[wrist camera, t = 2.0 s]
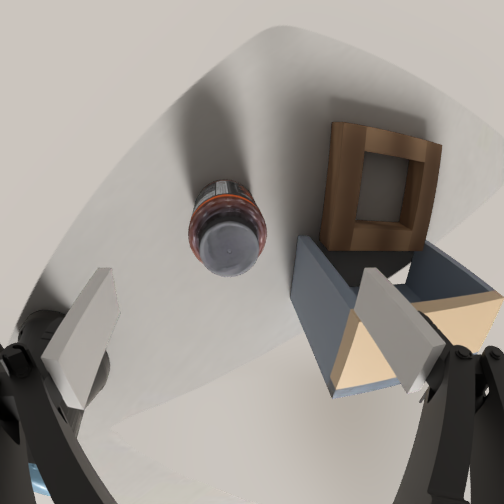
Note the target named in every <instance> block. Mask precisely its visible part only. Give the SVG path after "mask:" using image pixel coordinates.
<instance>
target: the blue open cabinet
mask: <svg viewBox="0 0 504 504" xmlns="http://www.w3.org/2000/svg"><path fill="white" fill-rule="evenodd" d="M394 286H395V287H396V288H397V290H398V291H399V292H400V293H401V294H402V295H403V296H404V297H405V298H406V299H407V300H408V301H409V302H410V303H411V304H412V306H413V307H414V308H415V309H416V310H417V311H421V312H422V313H424V314H425V315H427V316H428V317H429V318H430V319H431V320H432V322H433V324H435V325H436V326H437V327H438V329H440V330H441V332H442V333H443V334H444V335H445V336H446V337H447V338H448V340H449V341H450V342H451V343H452V344H453V345H462V346H464V347H467V348H468V349H469V350H470V351H471V352H472V353H473V354H475V355H477V353H478V351H479V349H480V347H481V346H482V344H483V342H484V340H485V338H486V336H487V334H488V332H489V330H490V328H491V326H492V324H493V322H494V320H495V318H496V316H497V313H498V311H499V309H500V307H501V305H502V302H503V300H504V297H503V296H502V295H501V294H499V293H498V292H497V291H496V290H494V289H493V288H492V287H490V286H489V285H488V284H487V283H485V282H484V281H483V280H481V279H480V278H479V277H478V276H476V275H475V274H474V273H472V272H471V271H470V270H468V269H467V268H466V267H464V266H463V265H461V264H460V263H459V262H457V261H456V260H454V259H453V258H451V257H450V256H449V255H447V254H446V253H445V252H443V251H442V250H440V249H439V248H437V247H436V246H434V245H433V244H431V243H430V242H428V241H427V240H425V244H424V248H423V251H414V254H413V258H412V262H411V265H410V269H409V273H408V277H407V279H406V283H405V284H397V285H394ZM359 288H360V287H349V286H348V284H347V283H346V282H345V281H344V279H343V278H342V277H341V275H340V274H339V273H338V272H337V270H336V269H335V268H334V266H333V265H332V264H331V263H330V261H329V260H328V259H327V258H326V256H325V255H324V254H323V253H322V251H321V250H320V249H319V248H318V246H317V245H316V244H315V243H314V242H313V240H312V239H311V238H310V237H309V236H300V235H298V241H297V250H296V258H295V266H294V274H293V281H292V289H291V296H290V299H291V301H292V303H293V306H294V308H295V311H296V313H297V315H298V318H299V320H300V322H301V325H302V327H303V330H304V332H305V334H306V337H307V339H308V341H309V344H310V346H311V348H312V351H313V353H314V356H315V358H316V360H317V363H318V366H319V368H320V370H321V373H322V375H323V378H324V380H325V383H326V385H327V387H328V390H329V392H330V395H331V397H332V399H334V398H339V397H345V396H350V395H355V394H360V393H365V392H370V391H374V390H378V389H382V388H387V387H391V386H394V385H398V384H401V383H400V381H399V380H398V378H397V377H396V375H395V373H394V372H393V370H392V368H391V367H390V365H389V364H388V362H387V360H386V359H385V357H384V356H383V354H382V353H381V351H380V349H379V348H378V346H377V345H376V343H375V342H374V340H373V339H372V337H371V335H370V334H369V332H368V331H367V329H366V328H365V326H364V325H363V323H362V322H361V320H360V319H359V317H358V316H357V314H356V313H355V311H354V307H355V304H356V300H357V296H358V292H359Z"/></svg>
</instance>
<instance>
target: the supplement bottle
mask: <svg viewBox="0 0 504 504" xmlns="http://www.w3.org/2000/svg"><path fill="white" fill-rule="evenodd" d="M188 236H189V243H190V247H191V249H192V251H193V253H194V255H195V256H196V257H197V259H198V260H199V261H200V262H202V263H203V264H204V265H205V267H206V268H207V269H208V270H210V271H211V272H212V273H214V274H217V275H219V276H223V277H234V276H238V275H241V274H243V273H245V272H247V271H248V270H249V269H250V268H251V267H252V266H253V265H254V264H255V262H256V260H257V258H258V257H259V255H260V254H261V252H262V251H263V249H264V246H265V243H266V237H267V229H266V224H265V221H264V218H263V216H262V214H261V212H260V210H259V208H258V206H257V205H256V203H255V201H254V199H253V197H252V195H251V194H250V192H249V191H248V190H247V189H246V188H245V187H244V186H242V185H241V184H239V183H237V182H235V181H232V180H219V181H215V182H212V183H210V184H209V185H207V186H206V187H205V188H204V189H203V190H202V191H201V192H200V194H199V196H198V198H197V200H196V203H195V206H194V210H193V213H192V217H191V220H190V225H189V232H188Z"/></svg>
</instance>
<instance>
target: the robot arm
mask: <svg viewBox="0 0 504 504" xmlns="http://www.w3.org/2000/svg"><path fill="white" fill-rule="evenodd" d="M354 311H355V313H356V314H357V316H358V317H359V319H360V320H361V322H362V323H363V325H364V326H365V328H366V329H367V331H368V332H369V334H370V335H371V337H372V339H373V340H374V342H375V343H376V345H377V346H378V348H379V349H380V351H381V353H382V354H383V356H384V357H385V359H386V360H387V362H388V364H389V365H390V367H391V368H392V370H393V372H394V373H395V375H396V377H397V378H398V380H399V381H400V383H401V385H402V386H403V388H404V390H405V391H406V393H407V394H409V393H412V392H415V391H419V390H420V389H421V388H422V386H423V384H424V383H425V381H426V382H427V383H428V384H429V387H428V389H427V390H426V392H425V393H424V395H423V396H422V398H421V399H420V402H419V403H421V402H422V401H423V399H424V405H423V409H422V414H421V418H420V422H419V426H418V430H417V434H416V438H415V441H414V445H413V448H412V452H411V455H410V458H409V461H408V464H407V467H406V470H405V474H404V476H403V479H402V482H401V484H400V487H399V490H398V492H397V495H396V497H395V500H394V502H393V504H470V503H469V502H468V501H465V500H464V492H465V487H466V482H467V477H468V471H469V465H470V480H471V504H504V354H503V352H502V351H501V350H500V349H499V348H497V347H494V346H487V347H486V348H485V350H484V351H483V353H482V355H475V354H473V353H472V352H471V351H470V350H469V349H468V348H467V347H464V346H462V345H453V344H452V343H451V342H450V341H449V340H448V338H447V337H446V336H445V335H444V334H443V333H442V332H441V330H440V329H438V327H437V326H436V325H435V324H433V322H432V320H431V319H430V318H429V317H428V316H427V315H425V314H424V313H422V312H421V311H417V310H416V309H415V308H414V307H413V306H412V304H411V303H410V302H409V301H408V300H407V299H406V298H405V297H404V296H403V295H402V294H401V293H400V292H399V291H398V290H397V288H396V287H395V286H394V285H393V284H392V283H391V282H390V281H389V280H388V279H387V278H386V277H385V276H384V275H383V274H382V273H381V272H380V271H379V270H378V269H377V268H364V272H363V276H362V280H361V284H360V288H359V292H358V296H357V300H356V304H355V307H354ZM119 316H120V308H119V304H118V299H117V294H116V289H115V284H114V278H113V273H112V268H98V269H97V270H96V272H95V273H94V275H93V276H92V277H91V279H90V280H89V282H88V283H87V284H86V286H85V287H84V289H83V290H82V292H81V293H80V295H79V296H78V298H77V299H76V301H75V302H74V304H73V305H72V307H71V308H70V310H69V311H68V313H67V314H66V315H64V314H61V313H58V312H54V311H47V310H44V311H37V312H35V313H33V314H31V315H30V316H29V317H28V318H27V320H26V321H25V322H24V324H23V325H22V327H21V329H20V332H19V336H18V342H17V343H14V344H11V345H9V346H7V347H6V348H5V349H4V348H3V347H2V345H1V344H0V504H36V501H35V496H34V492H37V493H40V494H43V495H47V496H51V498H52V500H53V502H54V503H55V504H117V502H116V501H115V500H114V498H113V497H112V495H111V494H110V493H109V491H108V490H107V488H106V487H105V485H104V484H103V482H102V481H101V479H100V478H99V476H98V475H97V473H96V471H95V470H94V468H93V467H92V465H91V463H90V462H89V460H88V458H87V457H86V455H85V453H84V451H83V450H82V448H81V446H80V444H79V442H78V440H77V435H78V431H79V428H80V424H81V420H82V417H83V413H84V410H85V408H86V407H87V406H88V405H89V404H90V402H91V401H92V400H93V399H94V398H95V396H96V395H97V394H98V392H99V391H100V390H102V388H103V387H104V385H105V384H106V381H107V378H108V375H109V371H110V362H109V358H108V355H107V353H106V351H105V350H106V347H107V345H108V342H109V340H110V337H111V335H112V332H113V330H114V327H115V325H116V323H117V320H118V318H119ZM488 387H489V393H488V395H487V396H486V394H485V391H486V389H487V388H488ZM33 491H34V492H33Z"/></svg>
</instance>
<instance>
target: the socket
mask: <svg viewBox="0 0 504 504" xmlns="http://www.w3.org/2000/svg"><path fill="white" fill-rule="evenodd" d="M365 151H367V152H373V153H379V154H385V155H390V156H396V157H401V158H406V159H409V165H408V173H407V180H406V186H405V192H404V198H403V204H402V209H401V215H400V220H399V222H384V221H365V220H355V219H356V213H357V206H358V200H359V193H360V185H361V178H362V170H363V161H364V152H365ZM441 152H442V145H440V144H437V143H433V142H430V141H426V140H423V139H419V138H415V137H412V136H408V135H404V134H400V133H395V132H391V131H387V130H382V129H378V128H373V127H368V126H363V125H358V124H352V123H346V122H332V128H331V141H330V152H329V162H328V172H327V181H326V190H325V199H324V207H323V215H322V222H321V230H320V237H319V241H320V242H321V243H322V244H323V245H324V246H325V247H326V249H327V250H328V251H423V248H424V244H425V240H426V236H427V231H428V227H429V223H430V218H431V213H432V209H433V203H434V198H435V193H436V187H437V181H438V174H439V167H440V160H441Z"/></svg>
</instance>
